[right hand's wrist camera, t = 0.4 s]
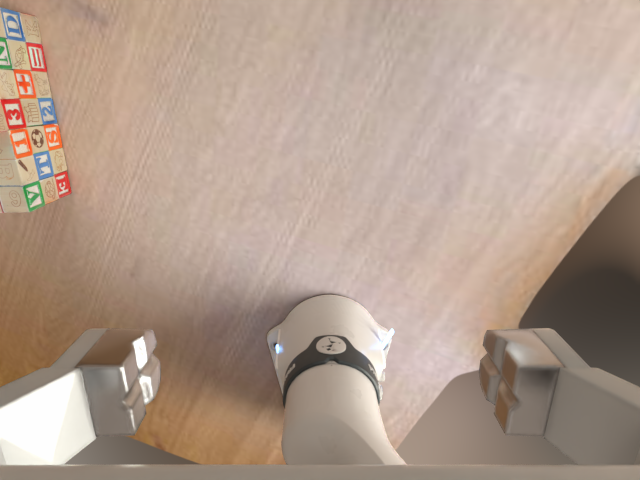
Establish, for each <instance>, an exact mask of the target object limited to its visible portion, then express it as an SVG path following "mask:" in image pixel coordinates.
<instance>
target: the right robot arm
mask: <svg viewBox="0 0 640 480" xmlns="http://www.w3.org/2000/svg"><path fill="white" fill-rule="evenodd" d="M393 333H394V330H393V329H391V330H390V331H389V330H388V329H386V328H385V327H383V326H381V325H380V324H378V323H376V322H375V320H374V319H373V318H372V316H371V315H370V314H369V312H368V311H367V310H366V309H365V308H364V307H363V306H362V305H360V304H359V303H357V302H356V301H354V300H352V299H349V298H347V297H343V296H339V295H320V296H316V297H312V298H309V299H307V300H305V301H303V302H301V303H300V304H298V305H297V306H296V307H295V308H294V309H293V310H292V311H291V312H290V313H289V314H288V316H287V317H286V319H285V320H284V321H283V322H282V323H281V324H279V325H277V326H276V327H274V328H273V329H271V330H270V331H269V332H268V333H267V343H268V346H269V350H270V353H271V357H272V360H273V364H274V367H275V371H276V374H277V377H278V381H279V384H280V388H281V391H282V395H283V404H284V408H285V413H284V423H283V432H282V441H281V447H282V453H283V457H284V460H285V462H286V464H287V465H63V464H64V463H66V462H67V461H68V460H70V459H71V458H72V457H73V456H75V455H76V454H77V453H78V452H80V451H81V450H82V449H83V448H85V447H86V446H87V445H88V444H90V443H91V442H92V441H93V440H95V439H96V436H128V435H135V433H136V431H137V430H138V428H139V426H140V424H141V422H142V420H143V418H144V417H145V415H146V409H145V405H146V404H148V403H149V402H151V401H152V400H154V398H155V396H156V394H157V392H158V388H159V384H160V380H161V367H160V360H159V359H158V358H157V357H156V356H155V355H154V354H153V351H154V349H155V348H156V346H157V341H156V336H155V333H154V332H153V331H152V329H109V328H96V329H87V330H86V331H85V332H84V333H83V334H82V335H81V336H80V337H79V338H78V339H77V340H76V341H75V342H74V343H73V344H72V345H71V346H70V347H69V348H68V349H67V350H66V351H65V352H64V353H63V354H62V355H61V356H60V357H59V358H58V360H57V361H56V362H55V363H54V364H53V365H52V366H51V367H50V368H41V369H39V370H37V371H35V372H32V373H30V374H28V375H26V376H24V377H21V378H19V379H17V380H15V381H13V382H10V383H8V384H6V385H4V386H2V387H0V480H640V387H638V386H636V385H634V384H632V383H629V382H627V381H625V380H623V379H621V378H618V377H616V376H614V375H612V374H610V373H608V372H605V371H603V370H601V369H599V368H590V367H589V366H588V365H587V364H586V363H585V362H584V361H583V359H582V358H581V357H580V356H579V355H578V354H577V353H576V352H575V351H574V350H573V349H572V348H571V347H570V346H569V345H568V344H567V343H566V342H565V341H564V340H563V339H562V338H561V337H560V336H559V335H558V334H557V333H556V332H555V331H554V330H552V329H550V328H539V329H507V330H487V331H486V333H485V335H484V341H483V346H484V348H485V349H486V351H487V354H486V355H485V356H484V357H483V358H482V359H481V360H480V368H479V378H480V385H481V388H482V392H483V394H484V396H485V398H486V400H488V401H489V402H491V403H492V404H494V405H495V409H494V415H495V417H496V418H497V420H498V422H499V424H500V426H501V428H502V429H503V431H504V433H505V435H512V436H544V439H546V440H547V441H548V442H549V443H551V444H552V445H553V446H554V447H556V448H557V449H558V450H559V451H561V452H562V453H563V454H564V455H566V456H567V457H568V458H569V459H571V460H572V461H573V462H574V463H576V464H577V465H407V464H406V463H405V462H404V461H403V460H402V459H401V457H400V456H399V455H398V454H397V452H396V451H395V450H394V448H393V447H392V445H391V444H390V442H389V440H388V438H387V435H386V432H385V429H384V425H383V422H382V418H381V414H380V410H379V403H380V401H381V400H382V395H383V388H382V386H381V385H379V382H384V380H385V372H382V370H383V369H384V368H385V360H386V357H387V354H388V350H389V347H390V343H391V339H392V338H391V336H392V335H393ZM275 343H277V345H275Z"/></svg>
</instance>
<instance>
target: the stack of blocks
mask: <svg viewBox="0 0 640 480" xmlns="http://www.w3.org/2000/svg"><path fill="white" fill-rule="evenodd" d="M66 170H67V166H66V161H65V156H64V151H63V148H62V141H61V136H60V131H59V126H58V124H57V119H56V114H55V110H54V105H53V100H52V96H51V91H50V86H49V81H48V76H47V68H46V63H45V58H44V53H43V47H42V44H41V36H40V32H39V27H38V22H37V18H36V16H33V15H28V14H25V13H20V12H15V11H12V10H8V9H5V8H1V7H0V213H3V212H31V211H34V210H36V209H38V208H40V207H43V206H45V204H48V203H51V202H53V201H55V200H58V199H59V198H61V197H64V196H66V195H69V194H71V193H72V192H71V188H70V183H69V179H68V175H67V171H66Z"/></svg>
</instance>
